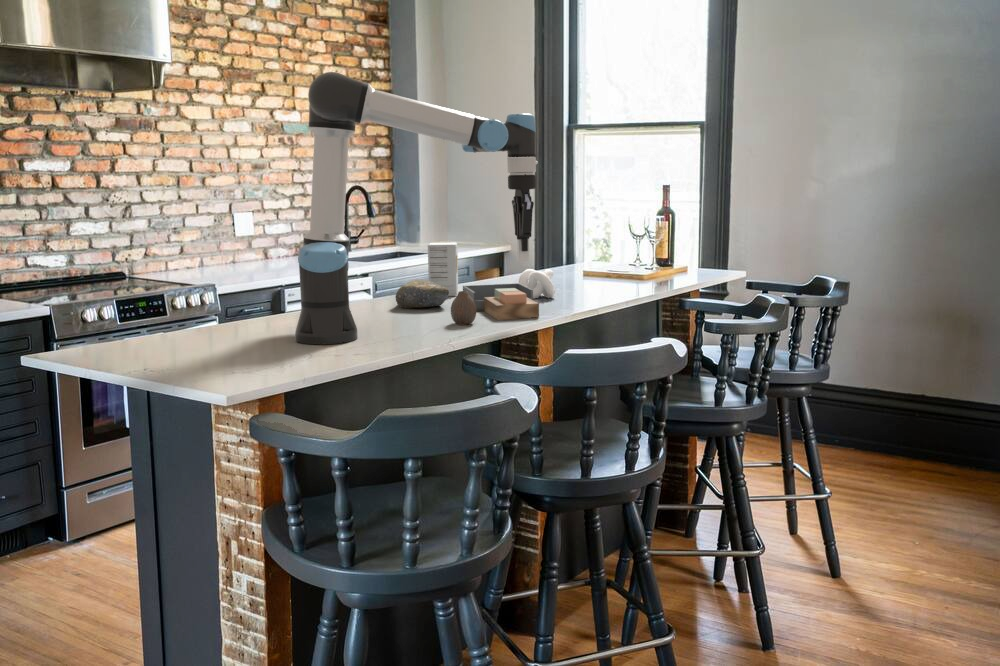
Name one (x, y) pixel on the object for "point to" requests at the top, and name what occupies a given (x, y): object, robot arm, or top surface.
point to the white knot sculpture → (538, 282)
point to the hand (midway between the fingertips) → (523, 263)
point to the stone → (421, 294)
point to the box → (492, 292)
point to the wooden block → (510, 309)
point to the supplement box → (444, 265)
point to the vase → (463, 309)
